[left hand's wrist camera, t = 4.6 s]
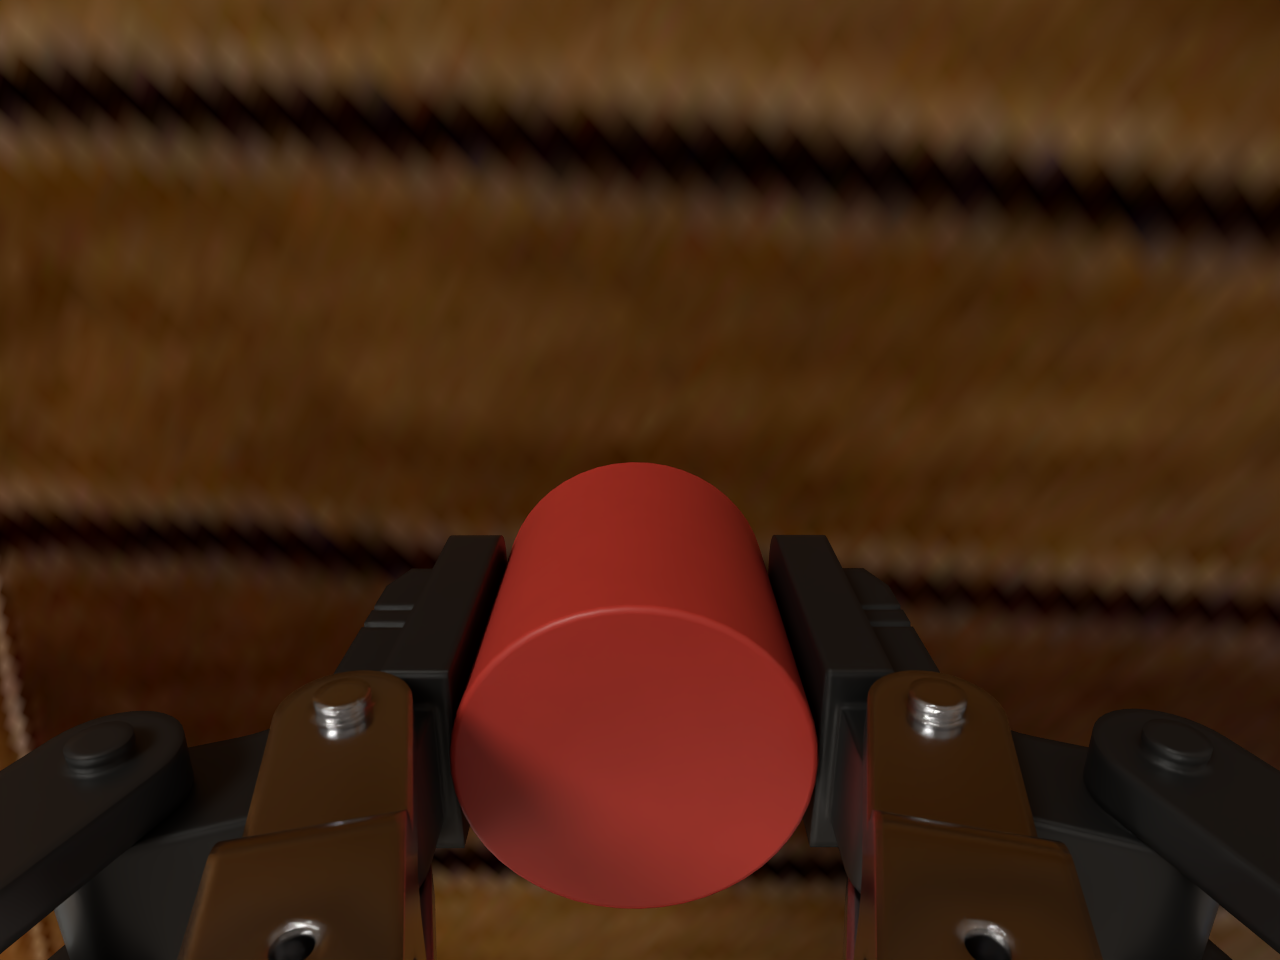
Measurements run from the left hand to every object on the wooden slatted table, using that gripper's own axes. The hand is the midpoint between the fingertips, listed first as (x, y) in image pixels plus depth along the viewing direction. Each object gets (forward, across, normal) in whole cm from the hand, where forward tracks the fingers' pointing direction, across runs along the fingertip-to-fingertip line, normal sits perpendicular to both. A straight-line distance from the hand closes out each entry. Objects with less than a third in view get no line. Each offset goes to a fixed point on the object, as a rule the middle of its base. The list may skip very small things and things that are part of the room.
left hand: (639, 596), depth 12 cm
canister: (+1, 0, 0) cm, 1 cm away
